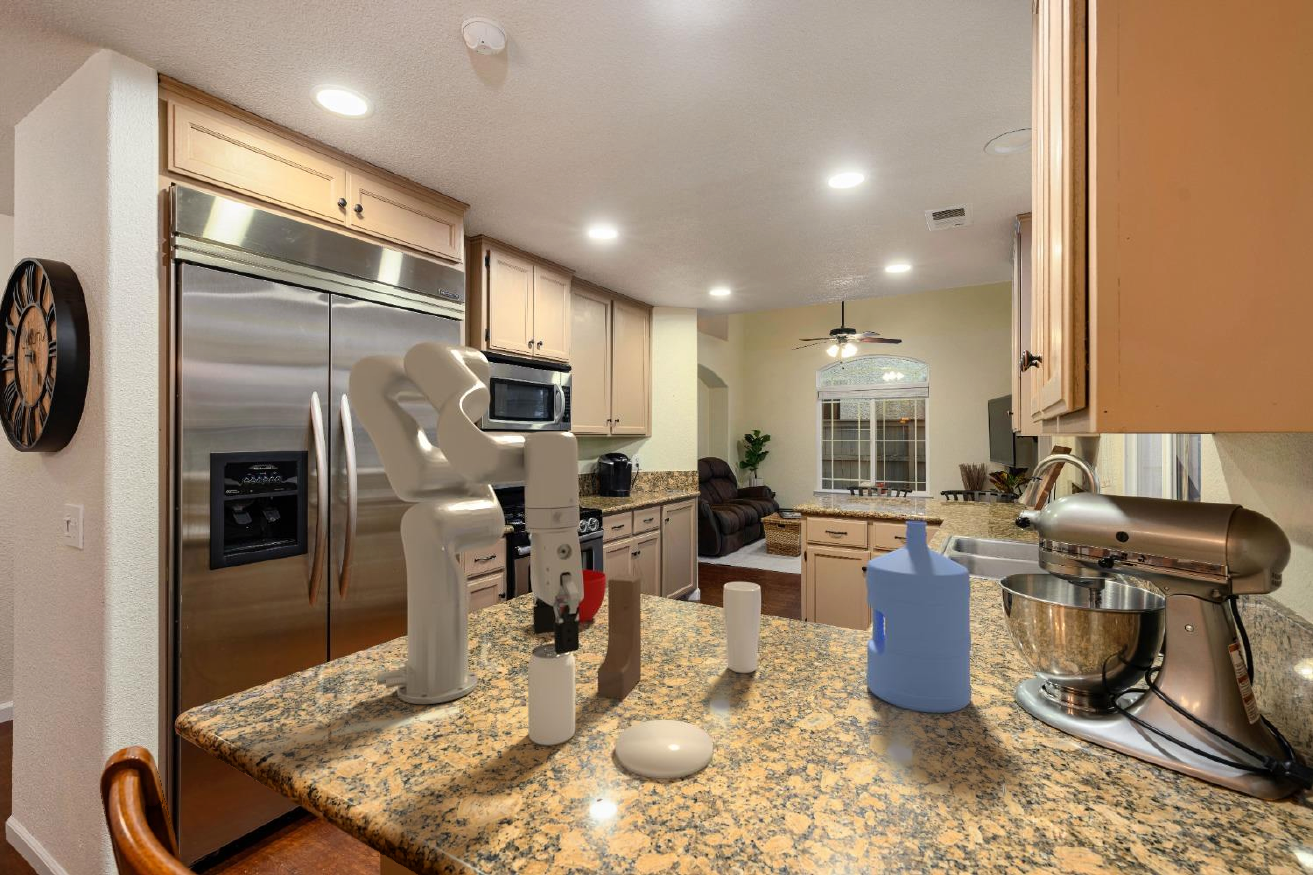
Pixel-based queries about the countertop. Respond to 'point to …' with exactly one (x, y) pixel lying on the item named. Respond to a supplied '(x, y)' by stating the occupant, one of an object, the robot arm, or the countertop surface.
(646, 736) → the white dome
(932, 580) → the water jug
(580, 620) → the ceramic cup
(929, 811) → the countertop surface
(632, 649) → the wooden block
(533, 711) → the can
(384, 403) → the robot arm
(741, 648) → the drinking glass
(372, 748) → the countertop surface
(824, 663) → the countertop surface
